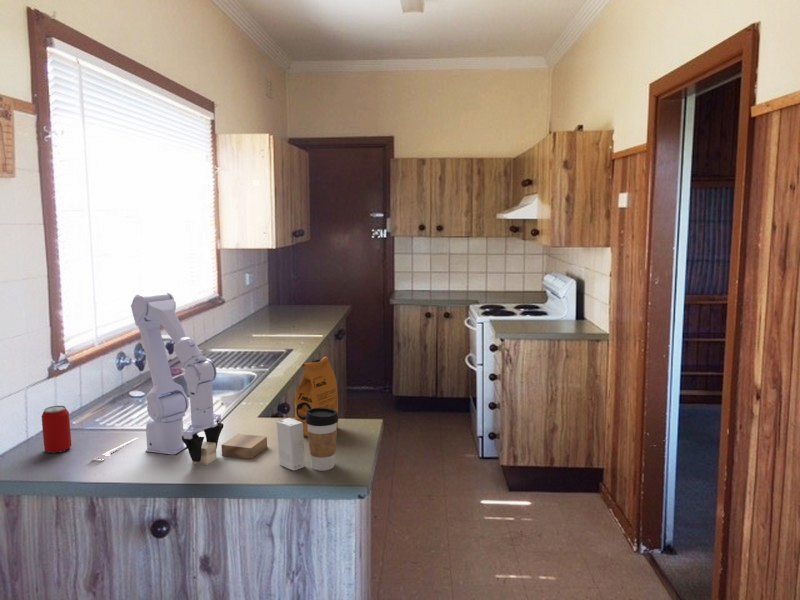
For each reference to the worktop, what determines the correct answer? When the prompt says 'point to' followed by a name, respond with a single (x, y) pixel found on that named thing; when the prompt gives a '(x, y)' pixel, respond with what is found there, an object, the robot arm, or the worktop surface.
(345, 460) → the worktop surface
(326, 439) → the coffee cup
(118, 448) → the fork
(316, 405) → the coffee package
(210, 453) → the birch block
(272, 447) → the worktop surface
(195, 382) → the robot arm
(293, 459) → the skincare box
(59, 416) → the beverage can
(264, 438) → the walnut base
